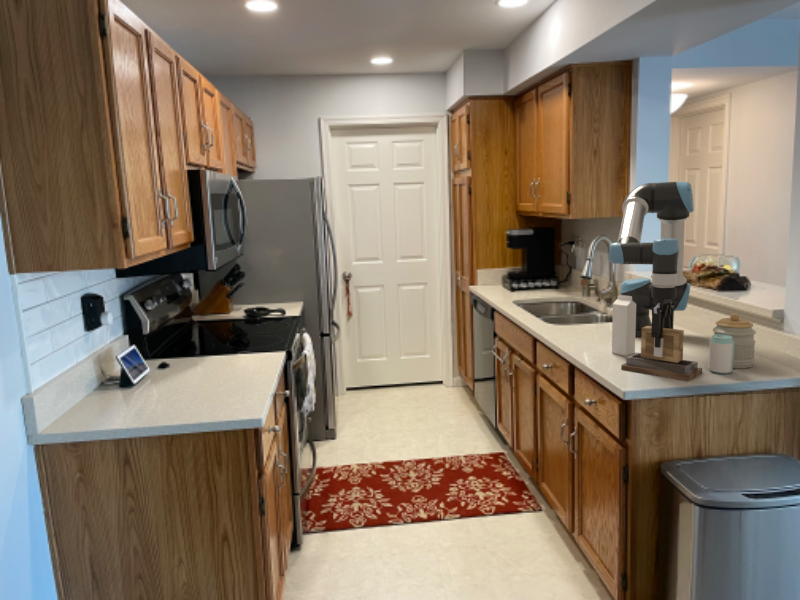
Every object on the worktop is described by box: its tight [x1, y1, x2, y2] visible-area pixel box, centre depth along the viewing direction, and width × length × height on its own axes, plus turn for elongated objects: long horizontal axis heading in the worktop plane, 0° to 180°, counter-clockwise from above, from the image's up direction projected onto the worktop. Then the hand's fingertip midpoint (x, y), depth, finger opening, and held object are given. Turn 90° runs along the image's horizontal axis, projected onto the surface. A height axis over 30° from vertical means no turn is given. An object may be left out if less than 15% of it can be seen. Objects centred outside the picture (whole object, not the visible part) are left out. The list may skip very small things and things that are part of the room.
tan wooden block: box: [640, 326, 685, 363], centre depth 197 cm, size 5×12×10 cm, turn 45°
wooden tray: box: [620, 352, 703, 382], centre depth 199 cm, size 12×22×4 cm, turn 45°
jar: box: [712, 313, 757, 369], centre depth 203 cm, size 13×13×18 cm
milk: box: [611, 294, 636, 357], centre depth 222 cm, size 6×6×22 cm
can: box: [708, 334, 734, 375], centre depth 195 cm, size 7×7×12 cm
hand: (661, 354), depth 198 cm, fingers open, 5 cm apart
